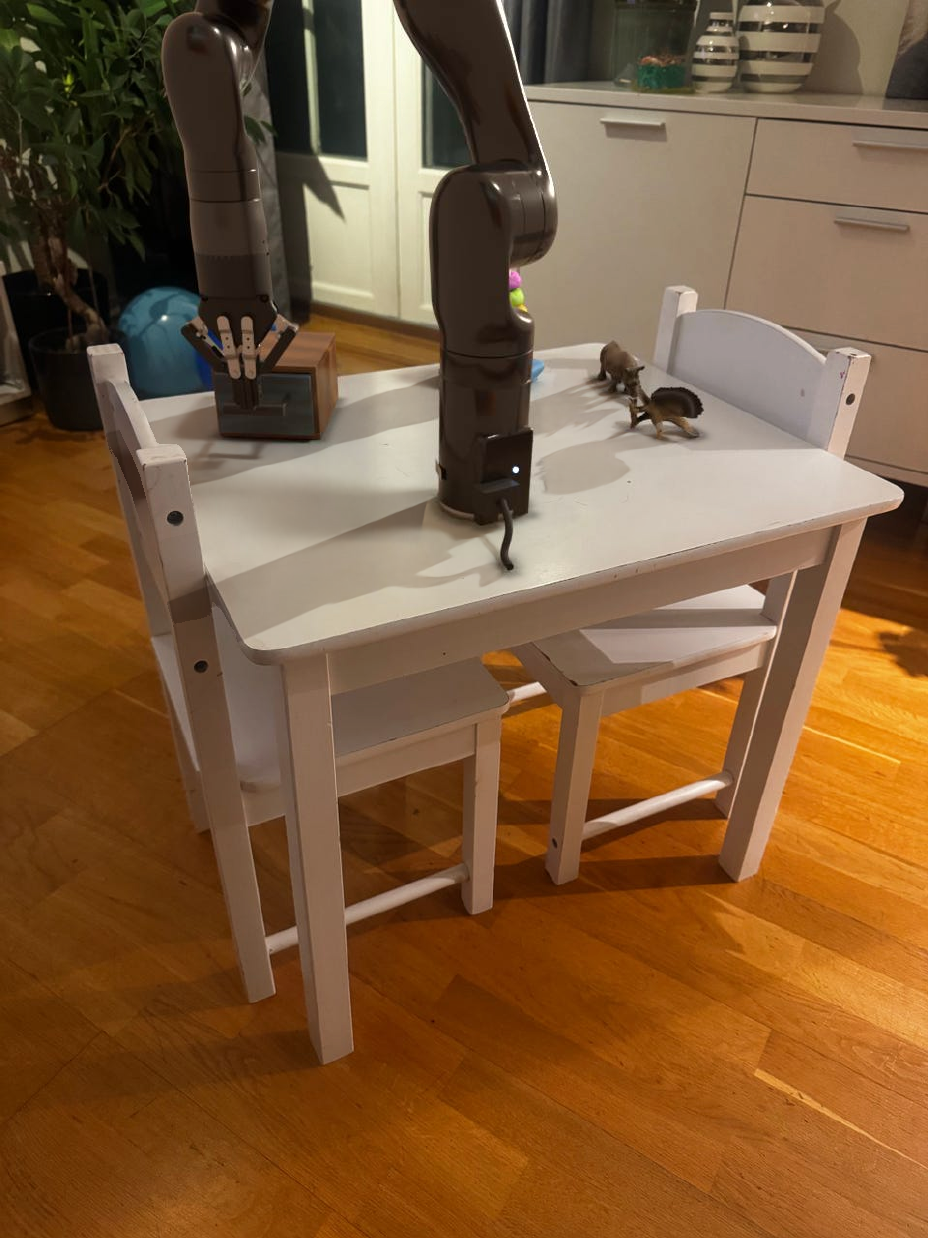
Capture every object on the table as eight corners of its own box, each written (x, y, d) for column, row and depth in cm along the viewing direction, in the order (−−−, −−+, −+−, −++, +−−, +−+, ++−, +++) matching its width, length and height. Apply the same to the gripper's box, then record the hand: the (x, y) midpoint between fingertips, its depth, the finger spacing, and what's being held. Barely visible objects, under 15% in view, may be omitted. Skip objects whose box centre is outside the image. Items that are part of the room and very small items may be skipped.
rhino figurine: (621, 408, 125) (626, 365, 122) (592, 376, 137) (596, 336, 133) (650, 407, 126) (656, 364, 123) (618, 375, 137) (623, 335, 134)
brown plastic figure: (631, 436, 114) (705, 428, 112) (626, 379, 114) (701, 370, 112) (631, 448, 121) (701, 440, 119) (627, 394, 121) (697, 386, 120)
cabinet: (320, 439, 113) (315, 366, 109) (219, 435, 114) (210, 363, 109) (338, 399, 126) (335, 332, 121) (247, 396, 126) (240, 329, 121)
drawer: (305, 452, 108) (300, 392, 104) (209, 449, 108) (200, 388, 104) (331, 398, 123) (328, 344, 119) (247, 395, 124) (241, 341, 120)
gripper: (155, 251, 91) (181, 419, 100) (288, 253, 91) (302, 421, 100) (177, 237, 97) (200, 396, 107) (301, 239, 97) (313, 399, 106)
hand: (249, 408), depth 103 cm, fingers closed
